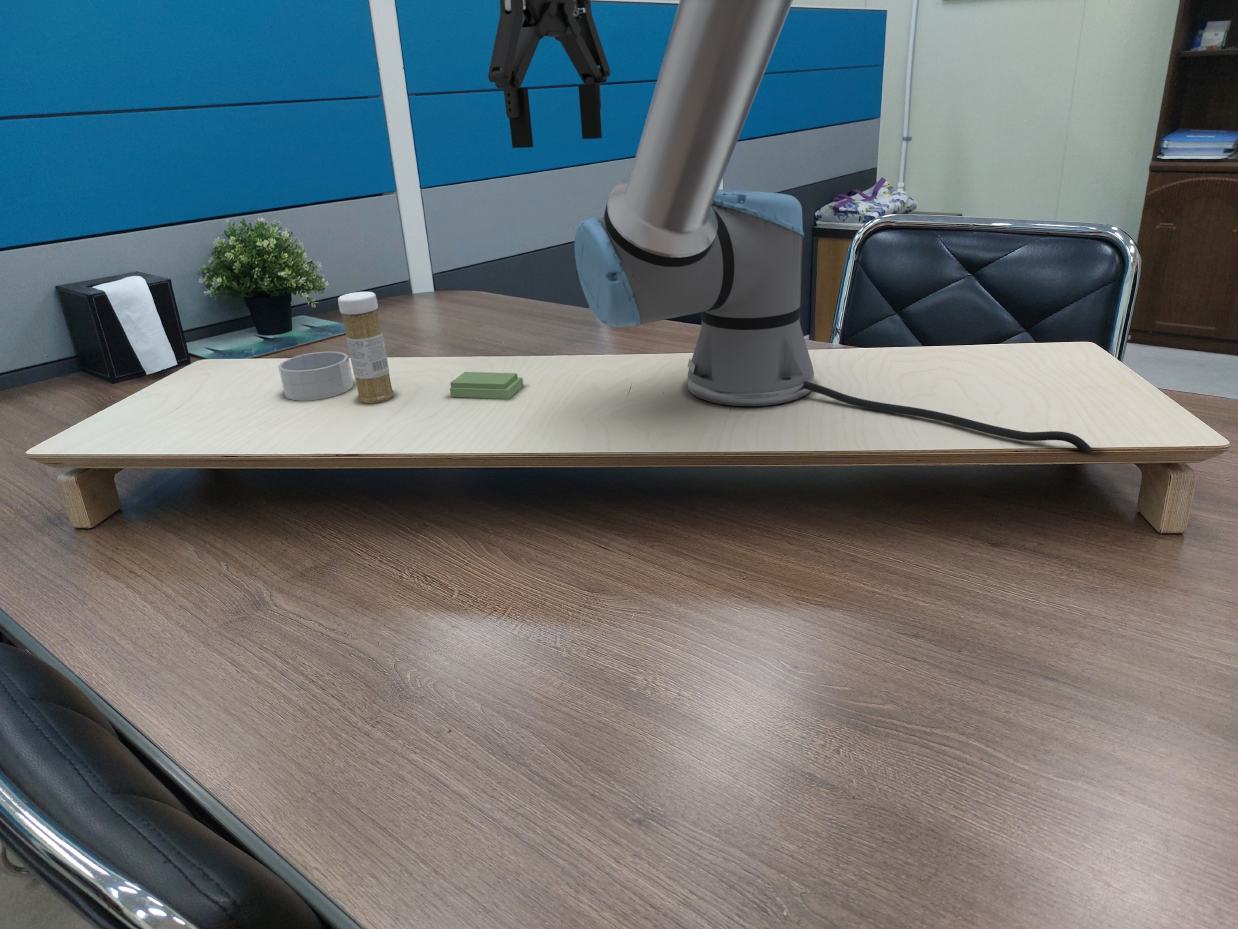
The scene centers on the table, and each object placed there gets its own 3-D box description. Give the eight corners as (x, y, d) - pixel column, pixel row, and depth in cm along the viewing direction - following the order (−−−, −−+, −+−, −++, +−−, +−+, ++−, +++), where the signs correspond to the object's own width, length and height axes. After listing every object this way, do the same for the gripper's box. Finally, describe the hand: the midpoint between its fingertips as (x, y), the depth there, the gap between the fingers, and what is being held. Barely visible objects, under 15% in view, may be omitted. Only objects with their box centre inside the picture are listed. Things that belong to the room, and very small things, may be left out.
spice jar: (385, 390, 110) (366, 288, 105) (400, 397, 107) (381, 293, 102) (352, 398, 108) (331, 295, 102) (366, 407, 104) (345, 300, 99)
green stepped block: (523, 386, 108) (522, 372, 108) (509, 399, 104) (507, 384, 103) (467, 384, 110) (465, 370, 110) (450, 397, 106) (448, 382, 105)
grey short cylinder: (365, 380, 115) (360, 352, 113) (329, 401, 107) (323, 372, 106) (310, 378, 117) (304, 350, 116) (271, 399, 110) (264, 370, 108)
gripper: (583, -41, 107) (595, 135, 116) (439, -59, 89) (466, 152, 98) (631, -50, 103) (640, 134, 112) (490, -71, 85) (513, 151, 94)
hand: (559, 143), depth 105 cm, fingers open, 13 cm apart
